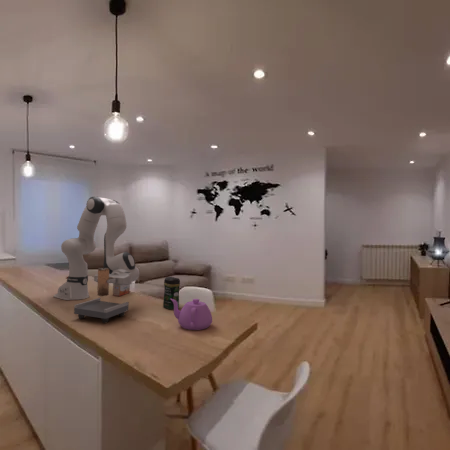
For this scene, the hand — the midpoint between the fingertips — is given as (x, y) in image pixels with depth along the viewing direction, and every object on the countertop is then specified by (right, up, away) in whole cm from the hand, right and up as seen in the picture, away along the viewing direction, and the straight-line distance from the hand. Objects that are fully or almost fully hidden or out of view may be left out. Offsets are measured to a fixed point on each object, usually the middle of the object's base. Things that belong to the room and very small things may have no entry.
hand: (102, 281), depth 176 cm
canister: (0, -8, +1) cm, 8 cm away
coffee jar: (+32, -21, +26) cm, 46 cm away
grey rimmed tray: (-1, -20, +1) cm, 20 cm away
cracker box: (-8, -19, +58) cm, 61 cm away
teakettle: (+47, -22, -8) cm, 53 cm away
